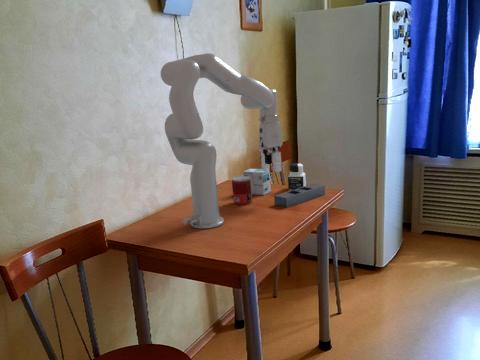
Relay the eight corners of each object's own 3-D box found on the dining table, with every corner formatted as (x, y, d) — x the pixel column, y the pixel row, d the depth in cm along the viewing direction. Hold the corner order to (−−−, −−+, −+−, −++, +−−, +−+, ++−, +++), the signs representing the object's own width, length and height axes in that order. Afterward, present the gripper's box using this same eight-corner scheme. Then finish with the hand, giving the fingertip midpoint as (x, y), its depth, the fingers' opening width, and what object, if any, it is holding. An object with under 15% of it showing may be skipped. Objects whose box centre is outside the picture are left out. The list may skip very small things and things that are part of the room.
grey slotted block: (286, 207, 177) (286, 198, 176) (274, 204, 182) (274, 195, 182) (325, 194, 192) (324, 185, 191) (312, 192, 197) (312, 183, 196)
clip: (281, 170, 184) (280, 152, 182) (276, 172, 182) (275, 153, 180) (266, 168, 191) (266, 150, 189) (261, 169, 189) (260, 151, 187)
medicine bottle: (288, 191, 202) (287, 165, 199) (291, 187, 209) (289, 162, 206) (303, 191, 200) (302, 165, 197) (306, 187, 207) (305, 162, 204)
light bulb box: (271, 191, 203) (270, 169, 201) (264, 195, 198) (262, 172, 195) (251, 190, 209) (250, 168, 207) (244, 193, 204) (242, 171, 201)
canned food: (252, 204, 185) (250, 179, 183) (233, 206, 185) (231, 180, 183) (252, 199, 193) (250, 175, 190) (233, 200, 193) (231, 176, 190)
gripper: (260, 122, 174) (263, 167, 178) (289, 117, 184) (291, 160, 188) (248, 121, 180) (251, 165, 184) (276, 117, 190) (278, 159, 194)
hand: (271, 162), depth 186 cm, fingers closed on clip, 3 cm apart
